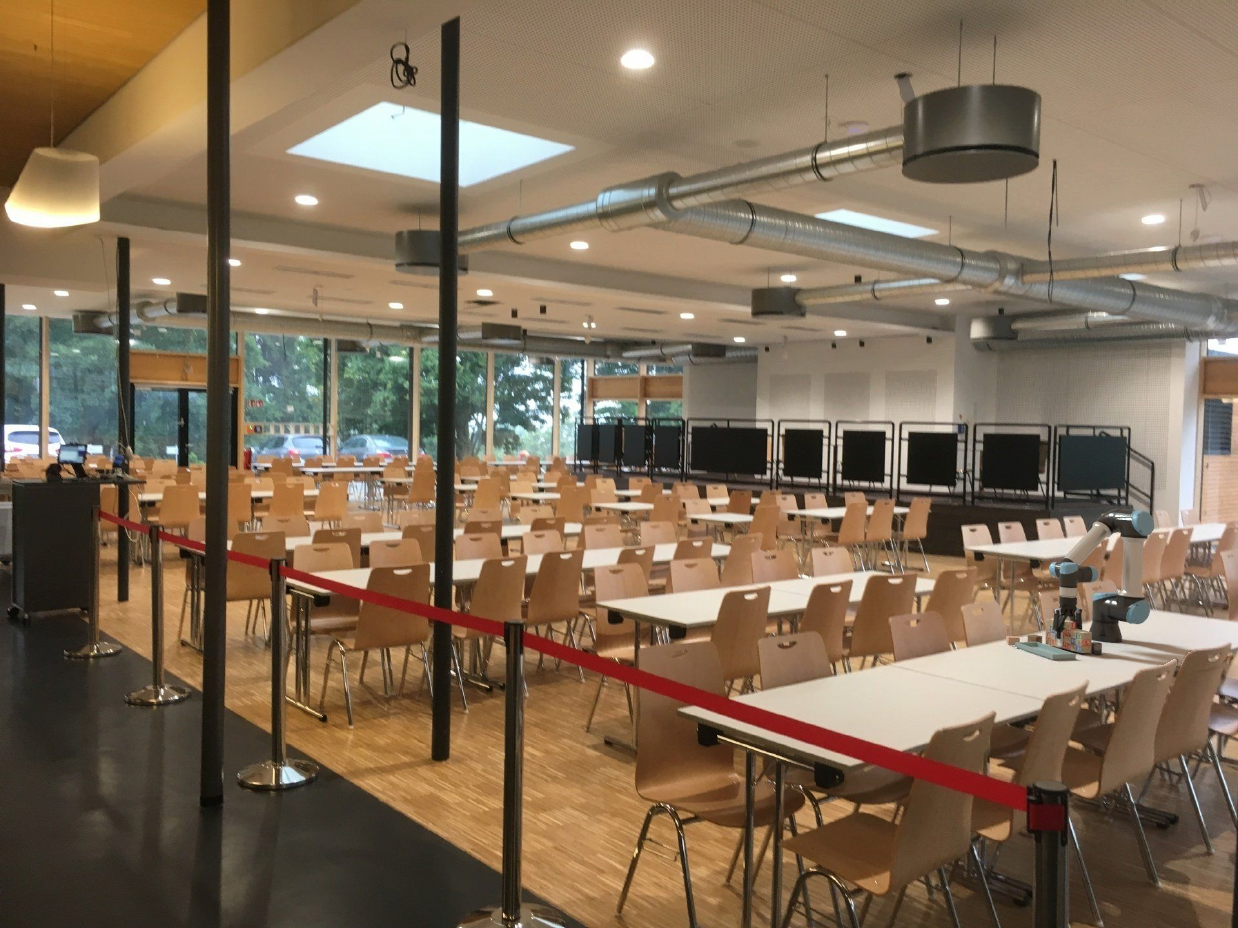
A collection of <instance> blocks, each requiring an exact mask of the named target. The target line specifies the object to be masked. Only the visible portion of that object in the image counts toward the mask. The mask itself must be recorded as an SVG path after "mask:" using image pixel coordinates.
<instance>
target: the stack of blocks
mask: <svg viewBox="0 0 1238 928" xmlns="http://www.w3.org/2000/svg"><path fill="white" fill-rule="evenodd" d="M1053 620H1054V617H1049V618H1045V644H1046V645H1049V646H1052V647H1055V648H1058V649H1062V650H1063V649H1064V650H1066V651H1067V650H1068V651H1070V652H1071V651H1072V652H1076V653H1079V654H1083V653H1084V654H1085V653H1091V642H1092V632H1089V631H1088V630H1084V629H1082V630H1080V629H1076V622H1072V621H1071V620H1070V619H1065V622H1064V625H1063V628H1062V632H1063V647H1061V646H1058V645H1057V643H1058V639H1057V638H1056V634H1057V632H1056V631H1054V630H1053Z"/></svg>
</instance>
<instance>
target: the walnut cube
mask: <svg viewBox="0 0 1238 928" xmlns="http://www.w3.org/2000/svg"><path fill="white" fill-rule="evenodd" d="M1026 642H1039V643H1042V644H1043V636H1042V635H1037V634H1028V635H1027V641H1026Z"/></svg>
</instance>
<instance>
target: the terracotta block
mask: <svg viewBox="0 0 1238 928" xmlns="http://www.w3.org/2000/svg"><path fill="white" fill-rule="evenodd" d="M1020 639H1021V638H1020V636H1016V635H1006V636H1005V643H1007V644H1008V645H1015V642H1021V641H1020ZM1007 644H1006V645H1007ZM1008 645H1007V646H1008Z"/></svg>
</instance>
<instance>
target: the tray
mask: <svg viewBox="0 0 1238 928" xmlns="http://www.w3.org/2000/svg"><path fill="white" fill-rule="evenodd" d="M1015 647H1017V648H1018V649H1017V648H1016V649H1017V650H1020V649H1021V650H1020V651H1023V650H1024V651H1023V652H1026V653H1030V654H1032V655H1036V656H1038V657H1041V658H1045V659H1047V660H1051V661H1073V660H1074V661H1075V660H1076V657H1077V656H1076V655H1077V654H1076V653H1073V652H1071V651H1069V650H1068V651H1067V650H1066V649H1064V650H1063V649H1062V648H1059V647H1055V646H1051V645H1047V644H1046V643H1045V644H1044V643H1043V642H1042V643H1039V642H1027V641H1020V642H1015V646H1014V648H1015Z"/></svg>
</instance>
